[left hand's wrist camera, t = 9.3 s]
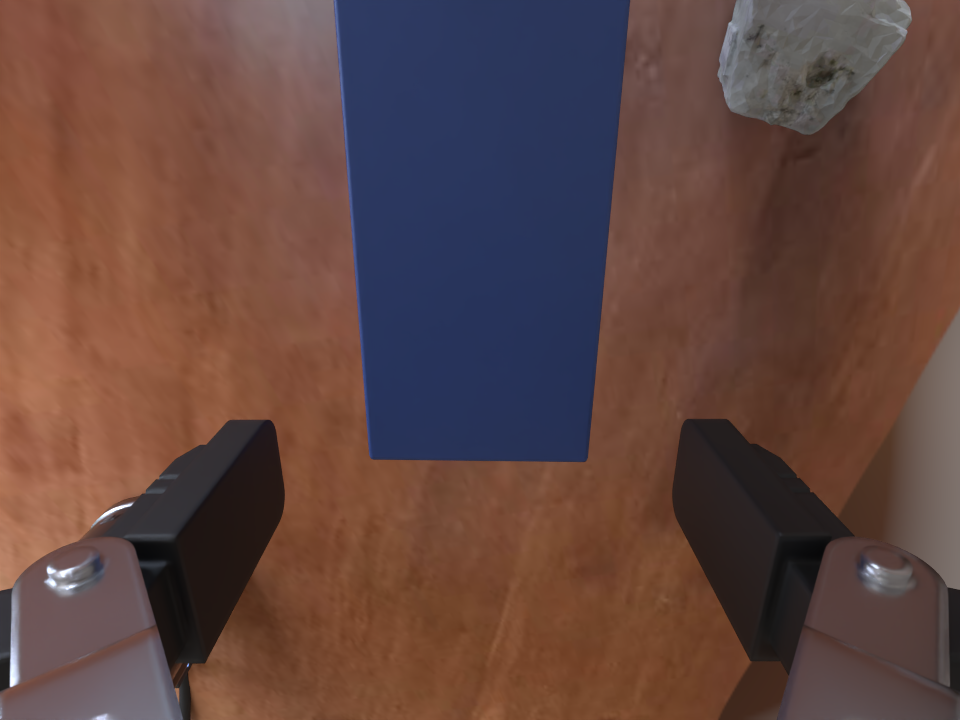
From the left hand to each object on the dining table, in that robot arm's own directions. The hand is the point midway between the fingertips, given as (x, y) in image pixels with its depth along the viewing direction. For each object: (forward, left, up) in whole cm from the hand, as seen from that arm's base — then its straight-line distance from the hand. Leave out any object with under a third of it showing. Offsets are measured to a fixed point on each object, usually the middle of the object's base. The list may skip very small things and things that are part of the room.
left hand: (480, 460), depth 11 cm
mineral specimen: (+9, -13, -21) cm, 26 cm away
